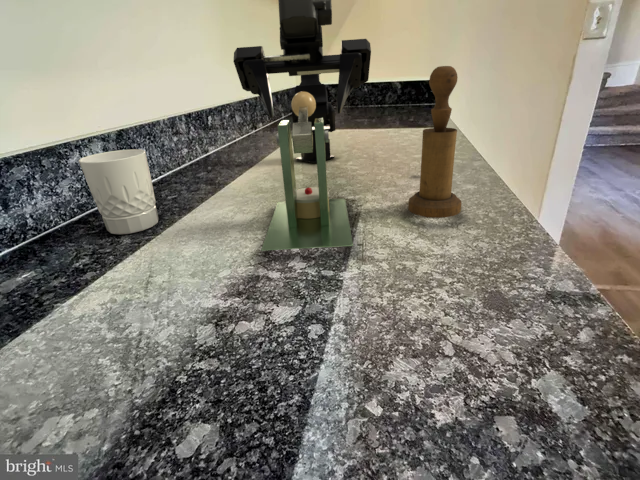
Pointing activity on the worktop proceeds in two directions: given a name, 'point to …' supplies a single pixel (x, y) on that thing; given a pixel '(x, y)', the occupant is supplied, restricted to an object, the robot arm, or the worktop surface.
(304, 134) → the lever
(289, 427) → the worktop surface
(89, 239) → the worktop surface
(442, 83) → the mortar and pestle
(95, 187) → the white cup
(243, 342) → the worktop surface
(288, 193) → the slicer bracket
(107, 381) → the worktop surface
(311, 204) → the cake
